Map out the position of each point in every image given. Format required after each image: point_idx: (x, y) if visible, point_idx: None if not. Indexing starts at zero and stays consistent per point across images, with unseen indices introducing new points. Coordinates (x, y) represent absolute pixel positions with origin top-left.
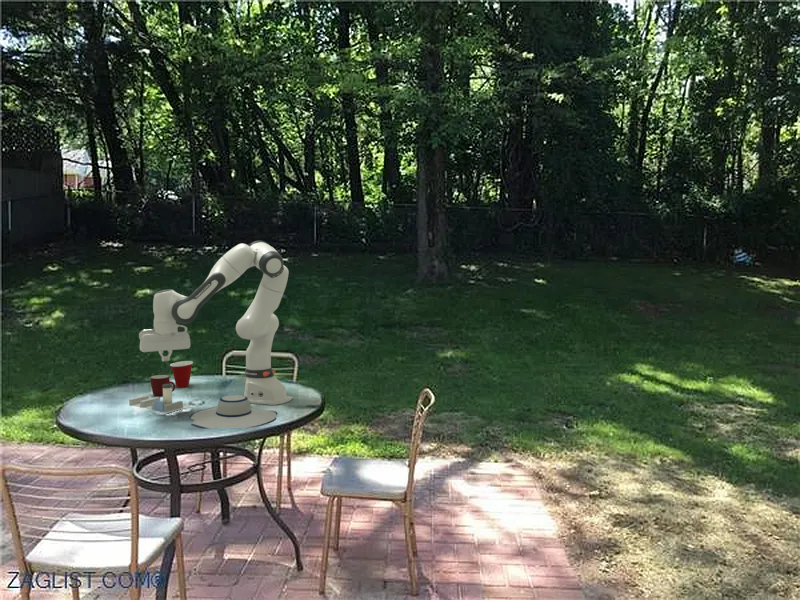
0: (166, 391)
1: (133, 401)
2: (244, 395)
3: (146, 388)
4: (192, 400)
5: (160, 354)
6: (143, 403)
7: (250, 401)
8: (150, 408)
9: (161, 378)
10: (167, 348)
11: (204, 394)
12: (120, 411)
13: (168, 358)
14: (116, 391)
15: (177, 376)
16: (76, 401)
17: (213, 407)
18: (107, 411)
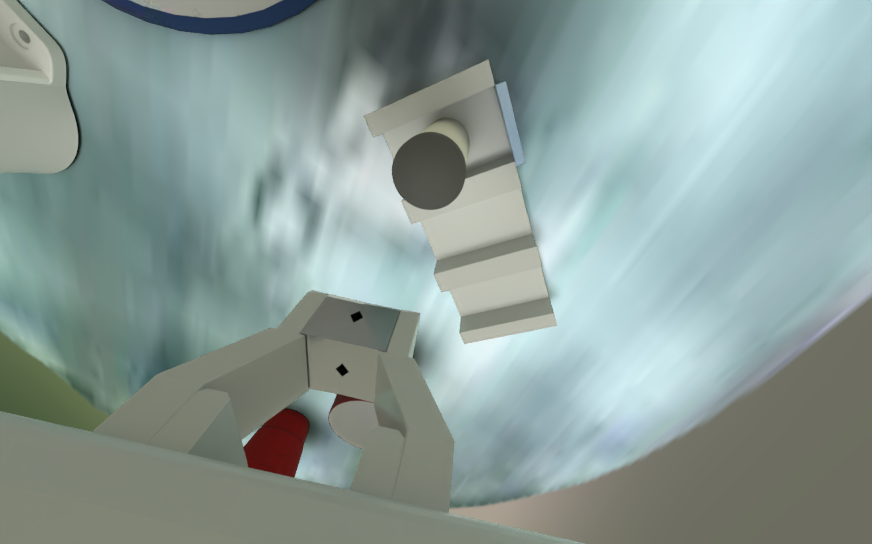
0: (451, 137)
1: (542, 308)
2: (35, 97)
3: None
4: (296, 259)
5: (441, 416)
6: (534, 242)
7: (12, 7)
8: (516, 195)
9: (371, 402)
10: (154, 528)
11: (239, 308)
12: (601, 283)
13: (314, 312)
14: (468, 477)
15: (288, 452)
16: (614, 463)
17: (222, 16)
18: (636, 314)
